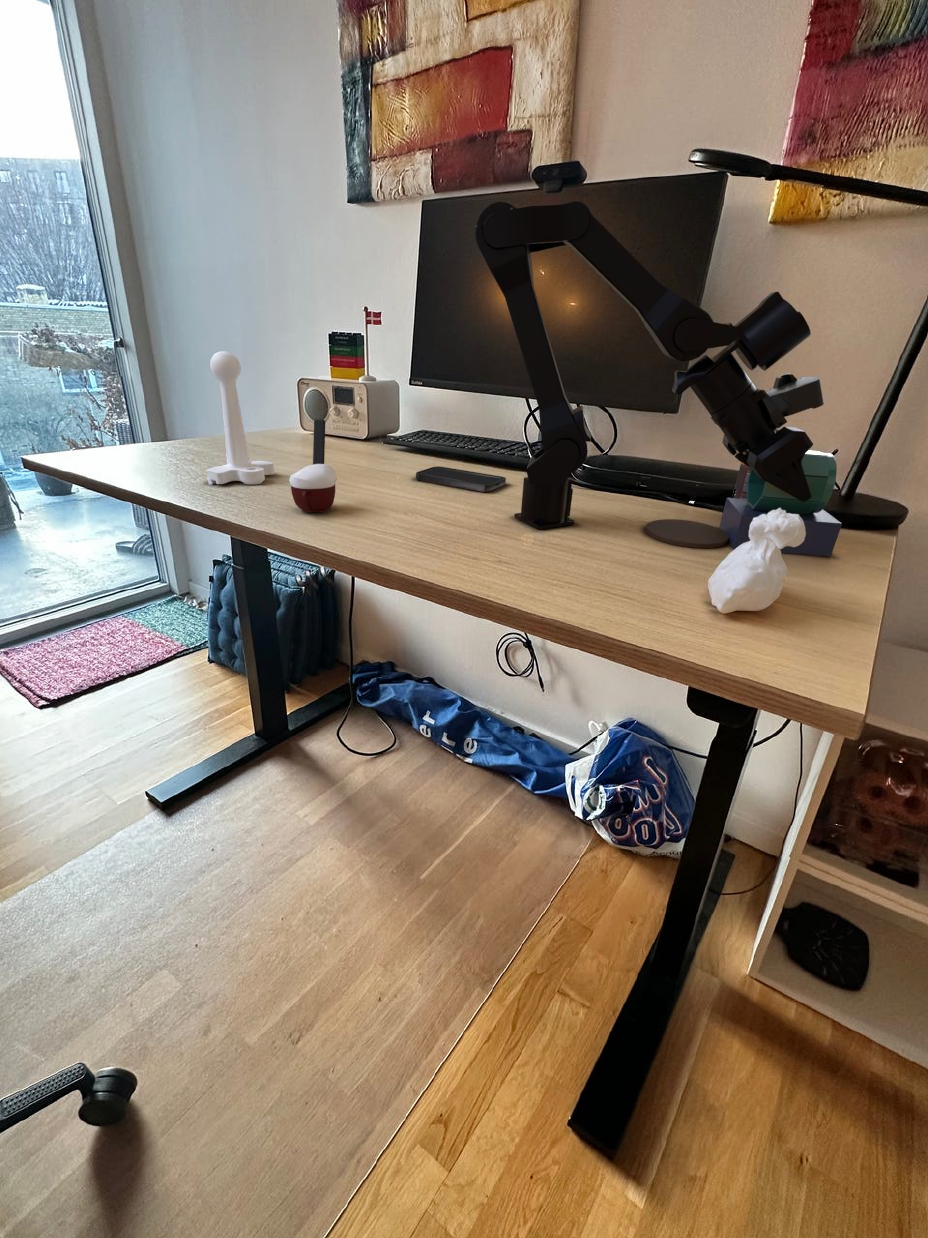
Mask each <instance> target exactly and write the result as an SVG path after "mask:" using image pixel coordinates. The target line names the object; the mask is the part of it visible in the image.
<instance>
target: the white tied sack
mask: <svg viewBox="0 0 928 1238" xmlns="http://www.w3.org/2000/svg"><path fill="white" fill-rule="evenodd" d="M805 536H806V531H805V525H804V522H803V520H802V518H801V517H800V516H799V514H790V513H786V511H785V510H782V509H781V508H778V509H777V510H772V511H770V512H769V513H768V514H767V515H766V514H761V515H760V516H758V517H755V518H753V521H752V522H751V524H750V529H749V538H750V541H749V542H745V543H743V544H741V545H740V546H738V547H737V548H734V549H733V550H732V551H730V552H729V553H728V555H727V556H726V557H725V558H724V559H723V560H722V561H721V562H720V564H718V566H717V567H716V569H714V572H713V574H712V575H711V576H710V578H709V579H708V581H707V588H708V593H709V596H710V600H711V605H712V606H714V607H716V609H717V610H718V612H719V613H721V614H730V613H733V612H736V611H741V612H745V611H746V612H761V611H762V610H765V609H766V608H768V607H769V606H771V605H772V604H773V603H774V602H775V601H776V600H777V599H778V598H779V597H780V595H781V593H782V591H783V589H784V581H785V579H786V577H787V576H788V567H787V565H786V563H785V561H784V559H783V556H782V553H781V551H780V549H782V548H784V547H785V546H791V547H797V546H798V545H800V544H801V543H802V542H803V541H804V539H805Z"/></svg>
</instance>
